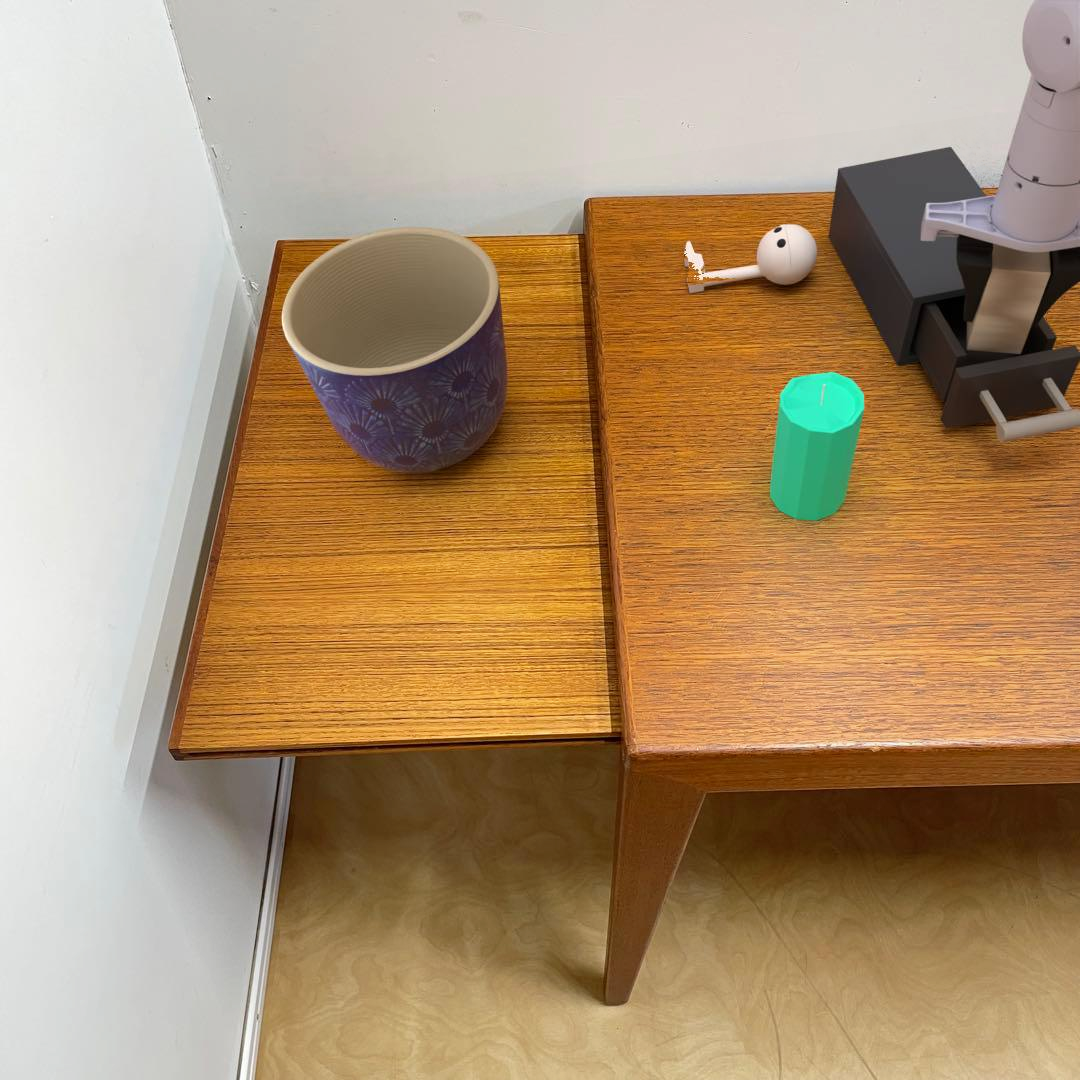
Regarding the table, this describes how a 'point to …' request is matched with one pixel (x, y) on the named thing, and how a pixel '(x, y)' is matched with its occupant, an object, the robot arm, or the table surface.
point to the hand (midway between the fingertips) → (1000, 315)
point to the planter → (403, 345)
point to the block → (1009, 300)
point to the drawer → (995, 375)
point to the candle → (815, 444)
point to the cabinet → (899, 238)
